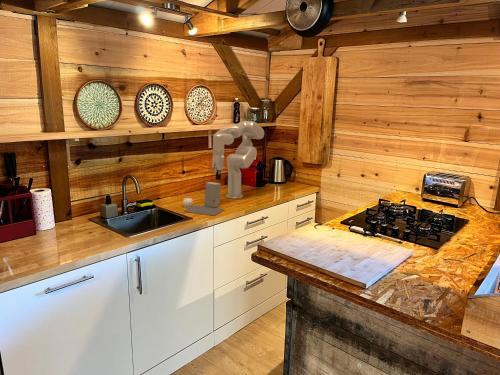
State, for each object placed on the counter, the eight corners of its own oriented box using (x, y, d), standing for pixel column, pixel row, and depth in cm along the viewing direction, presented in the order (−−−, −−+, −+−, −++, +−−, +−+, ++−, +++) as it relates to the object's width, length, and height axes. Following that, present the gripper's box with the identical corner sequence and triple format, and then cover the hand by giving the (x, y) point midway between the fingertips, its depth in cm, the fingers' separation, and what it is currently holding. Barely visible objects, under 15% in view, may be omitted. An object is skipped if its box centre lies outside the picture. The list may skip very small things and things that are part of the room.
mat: (195, 205, 256) (195, 205, 256) (225, 209, 248) (225, 209, 248) (183, 211, 243) (183, 211, 242) (214, 216, 235) (214, 215, 235)
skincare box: (204, 206, 254) (204, 182, 252) (209, 204, 260) (210, 181, 258) (214, 208, 250) (215, 184, 248) (220, 206, 257) (221, 182, 254)
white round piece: (186, 204, 259) (186, 197, 258) (194, 205, 257) (194, 198, 256) (181, 206, 254) (181, 199, 253) (189, 207, 252) (189, 200, 250)
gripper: (218, 151, 265) (218, 177, 269) (208, 153, 251) (208, 181, 255) (228, 152, 262) (228, 178, 266) (218, 154, 248) (218, 182, 252)
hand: (218, 179), depth 260 cm, fingers closed
